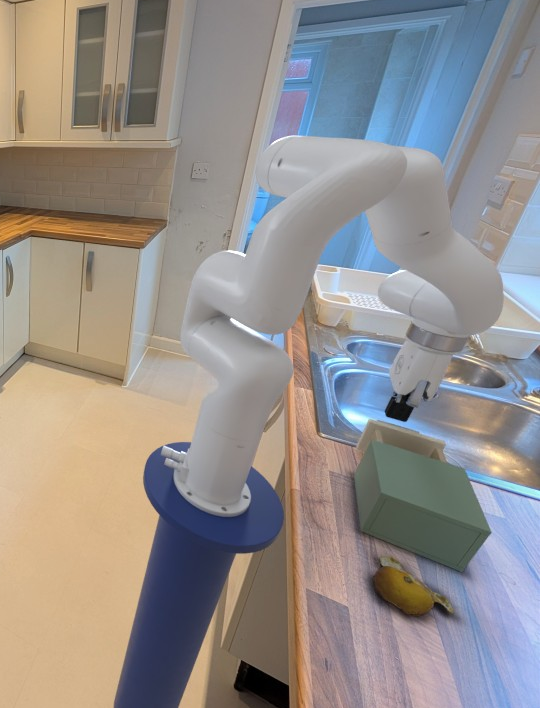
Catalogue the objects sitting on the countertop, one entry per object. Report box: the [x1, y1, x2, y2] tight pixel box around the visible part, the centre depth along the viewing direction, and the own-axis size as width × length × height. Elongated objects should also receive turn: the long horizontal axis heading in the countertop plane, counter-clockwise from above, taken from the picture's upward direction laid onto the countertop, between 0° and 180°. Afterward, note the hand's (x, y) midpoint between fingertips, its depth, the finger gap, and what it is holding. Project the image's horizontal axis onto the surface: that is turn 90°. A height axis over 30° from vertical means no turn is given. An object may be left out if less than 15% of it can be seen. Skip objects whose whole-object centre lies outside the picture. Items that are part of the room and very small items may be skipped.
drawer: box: [355, 418, 448, 463], centre depth 76 cm, size 17×10×7 cm, turn 146°
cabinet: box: [353, 440, 492, 573], centre depth 68 cm, size 14×12×9 cm
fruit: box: [372, 555, 455, 617], centre depth 58 cm, size 8×8×4 cm
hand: (395, 417), depth 84 cm, fingers closed
